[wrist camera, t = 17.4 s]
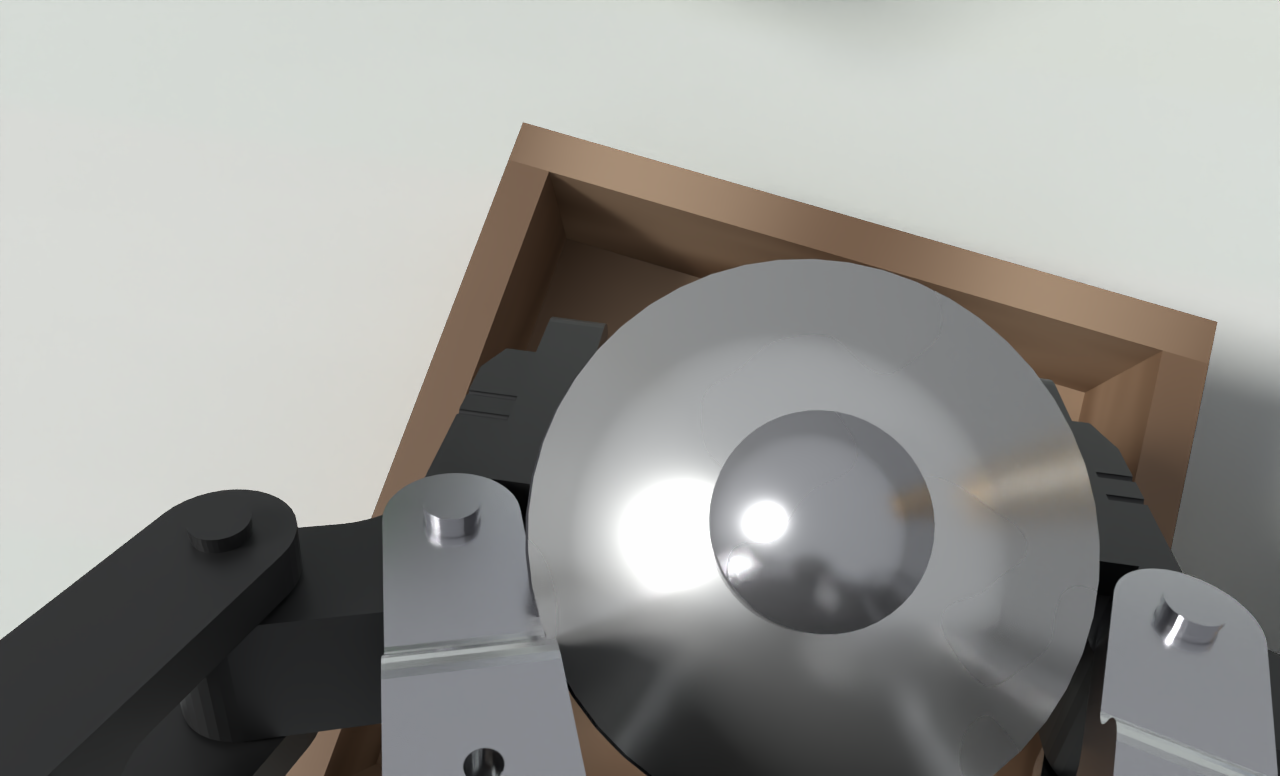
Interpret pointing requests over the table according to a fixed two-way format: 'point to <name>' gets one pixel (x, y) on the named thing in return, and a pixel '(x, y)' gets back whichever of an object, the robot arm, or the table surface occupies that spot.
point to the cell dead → (812, 532)
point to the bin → (753, 233)
